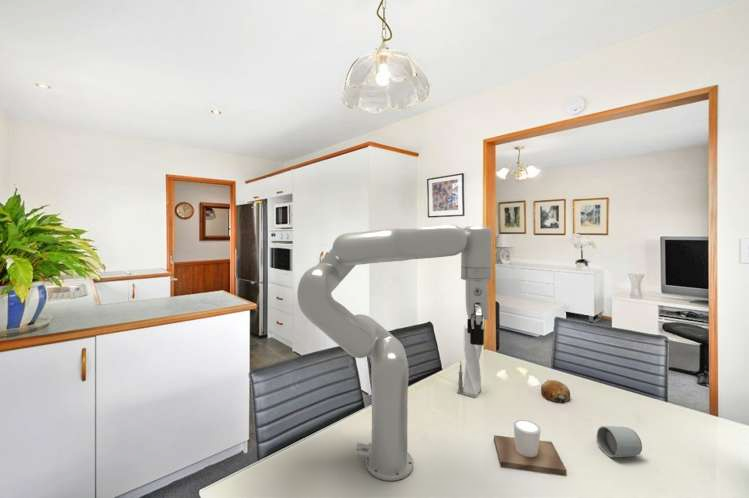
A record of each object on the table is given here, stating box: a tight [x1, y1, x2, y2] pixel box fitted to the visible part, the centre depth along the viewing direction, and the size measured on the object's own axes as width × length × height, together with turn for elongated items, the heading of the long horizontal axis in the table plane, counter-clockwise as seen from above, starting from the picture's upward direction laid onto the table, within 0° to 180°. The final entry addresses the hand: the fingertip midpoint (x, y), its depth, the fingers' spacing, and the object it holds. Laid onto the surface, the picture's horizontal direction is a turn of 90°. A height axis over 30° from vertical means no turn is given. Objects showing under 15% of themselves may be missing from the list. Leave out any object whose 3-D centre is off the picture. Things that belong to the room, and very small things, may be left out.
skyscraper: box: [456, 322, 483, 399], centre depth 131 cm, size 8×8×28 cm
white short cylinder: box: [513, 419, 541, 457], centre depth 94 cm, size 7×7×7 cm
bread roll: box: [540, 379, 571, 404], centre depth 128 cm, size 10×10×8 cm
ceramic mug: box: [596, 425, 643, 458], centre depth 96 cm, size 11×8×8 cm
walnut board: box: [493, 434, 568, 477], centre depth 93 cm, size 16×12×2 cm
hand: (475, 338), depth 88 cm, fingers open, 9 cm apart
